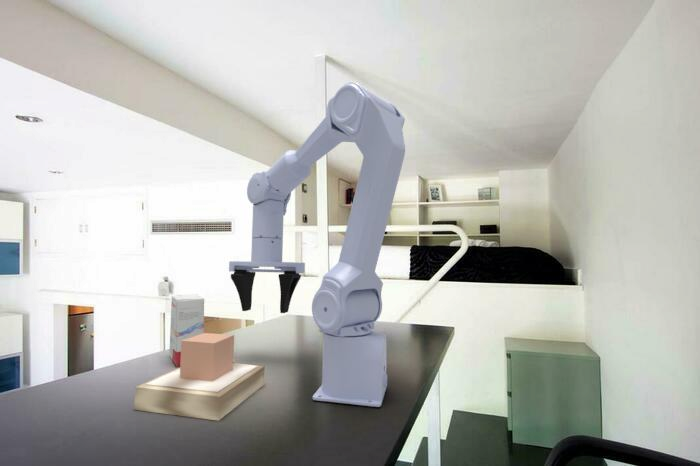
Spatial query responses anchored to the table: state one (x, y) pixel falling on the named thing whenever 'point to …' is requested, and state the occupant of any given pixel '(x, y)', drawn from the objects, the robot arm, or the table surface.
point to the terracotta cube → (206, 356)
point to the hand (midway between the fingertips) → (265, 311)
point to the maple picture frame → (199, 393)
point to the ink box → (185, 322)
